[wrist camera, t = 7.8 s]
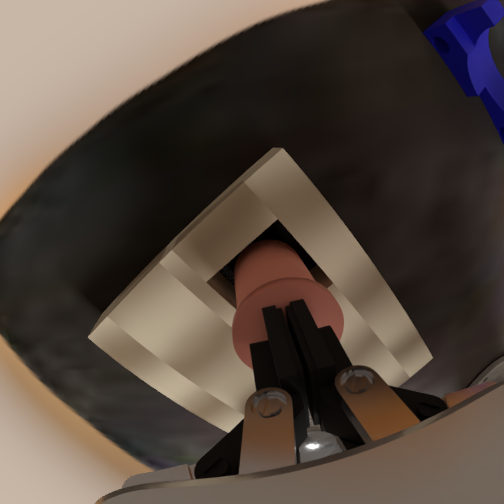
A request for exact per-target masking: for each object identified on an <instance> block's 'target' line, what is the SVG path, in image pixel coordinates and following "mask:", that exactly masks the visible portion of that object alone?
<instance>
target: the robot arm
mask: <svg viewBox="0 0 504 504" xmlns="http://www.w3.org/2000/svg"><path fill="white" fill-rule="evenodd" d="M285 310H286V316H287V322H286V319H285V317H284V314H283V311H282V308H277V309H276V306H275V305H273V306H269V307H264V308H262V313H263V318H264V322H265V327H266V332H267V337H268V340H265V341H261V342H256V343H251V344H249V346H250V353H251V360H252V366H253V373H254V380H255V386H256V392H254V393H253V394H252V395H250V397H249V398H248V399H247V401H246V405H245V414H244V418H243V419H242V420H241V421H240V422H239V423H238V424H237V425H236V426H235V427H234V428H233V429H232V430H231V431H230V432H229V433H228V434H227V435H226V436H225V437H224V438H223V439H222V440H221V441H219V442H218V443H217V444H216V445H215V446H214V447H213V448H212V449H211V450H210V451H209V452H207V453H206V454H205V455H204V456H203V457H202V458H201V459H200V460H199V461H198V462H197V464H195V465H191V466H188V465H187V464H184V465H180V466H176V467H172V468H167V469H163V470H158V471H153V472H148V473H143V474H138V475H134V476H132V477H130V478H128V479H127V480H126V481H125V483H124V484H123V487H122V489H119V490H116V491H113V492H111V493H109V494H107V495H105V496H103V497H102V498H100V499H99V500H97V502H96V503H95V504H504V356H502V357H501V358H499V359H497V360H496V361H494V362H493V363H492V364H491V365H489V366H488V367H487V368H486V369H485V370H484V371H483V372H482V373H481V374H480V375H479V376H478V377H477V378H476V379H475V380H474V381H473V382H472V383H471V385H470V386H469V387H468V388H466V389H462V390H459V391H456V392H452V393H448V394H445V395H444V398H439V397H436V396H433V395H429V394H424V393H419V392H415V391H411V390H406V389H402V388H398V387H394V386H390V385H388V384H387V383H386V382H385V381H384V380H383V379H382V378H381V377H380V375H379V374H378V373H377V372H376V371H375V370H373V369H372V368H370V367H368V366H363V365H354V366H353V365H352V363H351V361H350V359H349V357H348V356H347V354H346V352H345V350H344V348H343V347H342V345H341V343H340V341H339V339H338V338H337V336H336V334H335V332H334V331H333V329H332V327H331V326H330V325H328V326H324V327H320V328H318V327H317V325H316V323H315V321H314V319H313V317H312V315H311V313H310V311H309V309H308V307H307V305H306V303H305V301H304V299H300V300H295V301H291V302H290V306H285ZM287 323H288V325H287ZM308 408H309V411H310V414H311V417H312V421H313V424H314V426H316V425H320V428H321V431H322V432H324V431H326V432H327V433H330V434H332V435H335V439H336V441H337V443H338V445H339V446H340V448H341V450H342V451H343V452H341V453H337V454H334V455H331V456H327V457H323V458H320V459H316V460H312V461H308V462H304V463H301V456H300V446H301V445H302V444H303V442H304V441H305V440H306V438H307V437H308V433H307V428H308V427H310V421H309V411H308Z"/></svg>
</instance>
